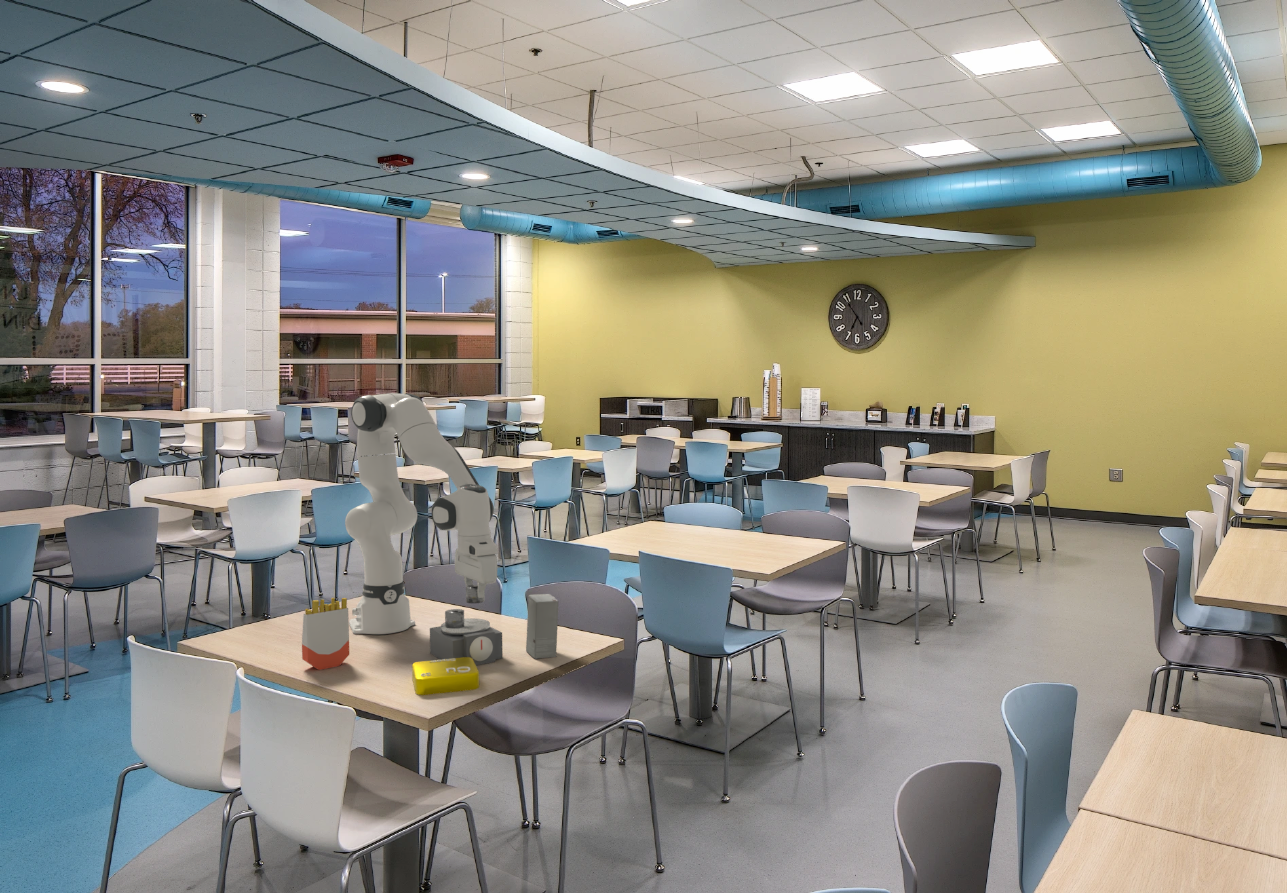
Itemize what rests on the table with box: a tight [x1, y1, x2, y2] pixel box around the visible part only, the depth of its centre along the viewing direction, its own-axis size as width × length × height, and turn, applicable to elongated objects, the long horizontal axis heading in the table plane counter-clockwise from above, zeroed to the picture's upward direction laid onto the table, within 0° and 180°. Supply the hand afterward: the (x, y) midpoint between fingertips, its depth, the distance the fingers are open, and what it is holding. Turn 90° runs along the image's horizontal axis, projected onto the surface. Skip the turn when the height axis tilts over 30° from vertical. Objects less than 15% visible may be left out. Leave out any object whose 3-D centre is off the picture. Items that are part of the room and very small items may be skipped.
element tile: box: [411, 657, 480, 696], centre depth 218 cm, size 15×15×5 cm
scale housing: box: [429, 625, 504, 666], centre depth 240 cm, size 18×14×8 cm
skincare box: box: [525, 593, 559, 660], centre depth 242 cm, size 8×7×16 cm
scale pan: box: [440, 617, 491, 635], centre depth 241 cm, size 13×13×1 cm
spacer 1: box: [444, 608, 465, 628], centre depth 239 cm, size 5×5×4 cm
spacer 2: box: [465, 584, 486, 604], centre depth 242 cm, size 5×5×4 cm
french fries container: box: [301, 597, 350, 671], centre depth 232 cm, size 5×11×18 cm, turn 130°
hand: (475, 595), depth 242 cm, fingers closed on spacer 2, 5 cm apart
